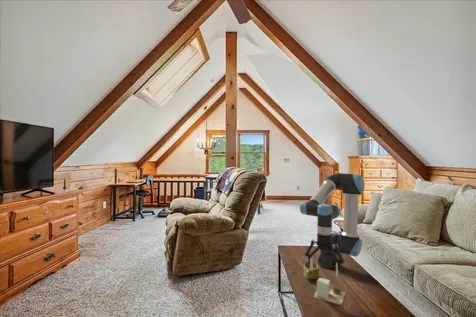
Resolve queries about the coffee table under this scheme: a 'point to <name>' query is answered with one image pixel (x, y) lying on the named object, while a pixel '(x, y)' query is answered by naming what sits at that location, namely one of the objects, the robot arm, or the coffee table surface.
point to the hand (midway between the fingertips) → (323, 272)
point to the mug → (311, 271)
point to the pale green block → (323, 288)
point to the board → (334, 295)
